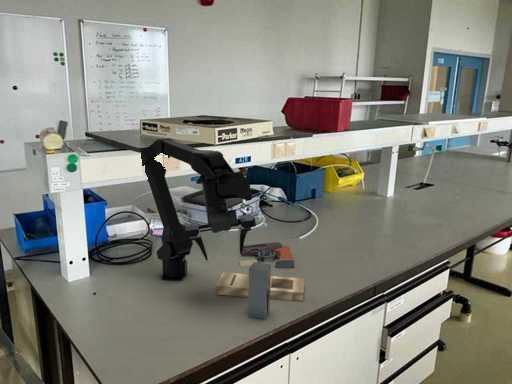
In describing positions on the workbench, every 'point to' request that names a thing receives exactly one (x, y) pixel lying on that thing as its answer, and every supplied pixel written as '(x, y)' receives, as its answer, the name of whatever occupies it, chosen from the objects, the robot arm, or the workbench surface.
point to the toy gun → (268, 254)
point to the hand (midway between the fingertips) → (224, 257)
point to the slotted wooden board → (240, 286)
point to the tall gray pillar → (259, 290)
